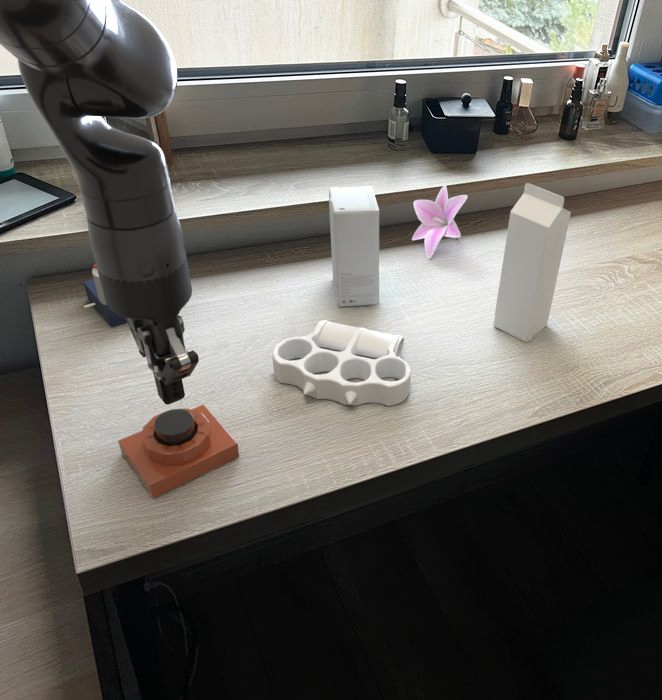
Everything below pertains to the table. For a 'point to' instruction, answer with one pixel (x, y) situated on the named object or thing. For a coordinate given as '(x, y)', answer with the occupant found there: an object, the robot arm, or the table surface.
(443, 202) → the lily
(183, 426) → the dark grey short cylinder
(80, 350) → the table surface
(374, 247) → the cosmetic box
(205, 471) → the button base
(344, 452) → the table surface
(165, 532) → the table surface
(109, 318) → the dial panel
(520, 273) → the milk
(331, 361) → the white brass knuckles
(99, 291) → the dial
